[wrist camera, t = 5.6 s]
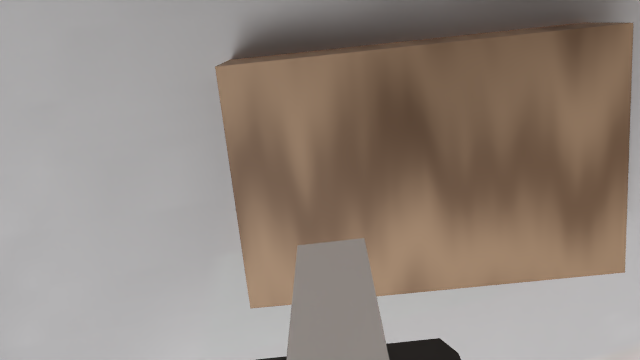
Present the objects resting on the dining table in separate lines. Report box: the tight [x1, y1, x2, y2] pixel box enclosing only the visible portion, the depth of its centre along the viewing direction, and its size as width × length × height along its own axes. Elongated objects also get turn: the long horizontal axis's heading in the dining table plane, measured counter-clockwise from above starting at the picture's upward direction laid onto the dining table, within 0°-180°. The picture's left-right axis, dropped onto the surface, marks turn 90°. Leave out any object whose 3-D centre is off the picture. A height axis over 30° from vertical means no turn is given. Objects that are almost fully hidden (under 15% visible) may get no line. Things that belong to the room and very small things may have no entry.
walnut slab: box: [215, 23, 633, 308], centre depth 23 cm, size 9×4×14 cm
